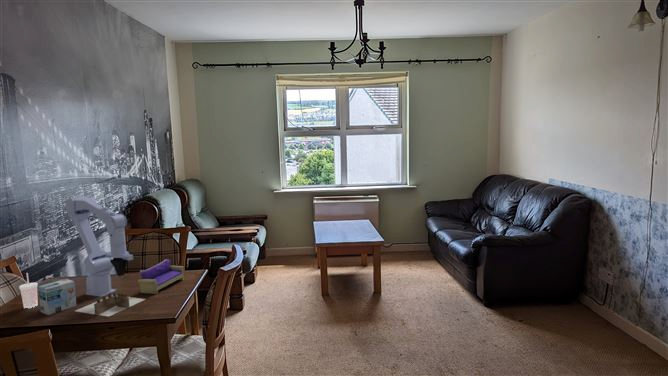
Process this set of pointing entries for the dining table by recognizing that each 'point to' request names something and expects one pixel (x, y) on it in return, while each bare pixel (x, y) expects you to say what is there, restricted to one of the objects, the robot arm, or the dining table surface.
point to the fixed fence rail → (122, 300)
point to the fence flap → (105, 303)
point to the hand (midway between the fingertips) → (120, 275)
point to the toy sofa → (159, 277)
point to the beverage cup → (29, 294)
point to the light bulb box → (57, 296)
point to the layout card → (112, 310)
